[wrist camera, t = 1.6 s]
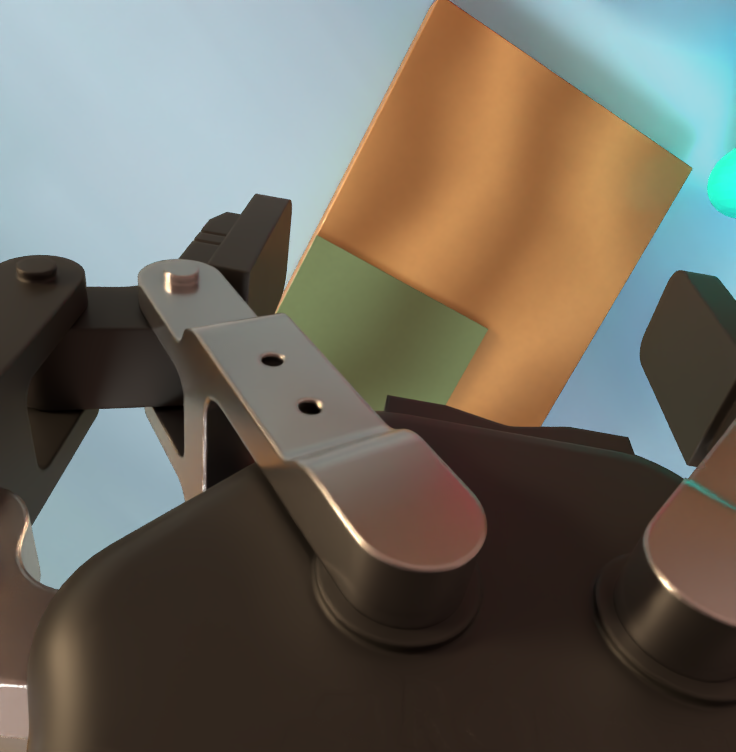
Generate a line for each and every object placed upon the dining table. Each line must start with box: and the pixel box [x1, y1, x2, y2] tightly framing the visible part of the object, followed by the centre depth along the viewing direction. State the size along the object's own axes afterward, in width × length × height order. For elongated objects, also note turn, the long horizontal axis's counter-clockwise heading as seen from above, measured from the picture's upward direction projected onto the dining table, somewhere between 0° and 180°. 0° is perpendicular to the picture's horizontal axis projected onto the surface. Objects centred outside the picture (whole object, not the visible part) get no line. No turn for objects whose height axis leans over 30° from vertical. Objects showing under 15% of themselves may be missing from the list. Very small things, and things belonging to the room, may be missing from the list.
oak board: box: [275, 0, 692, 427], centre depth 31 cm, size 14×20×2 cm
